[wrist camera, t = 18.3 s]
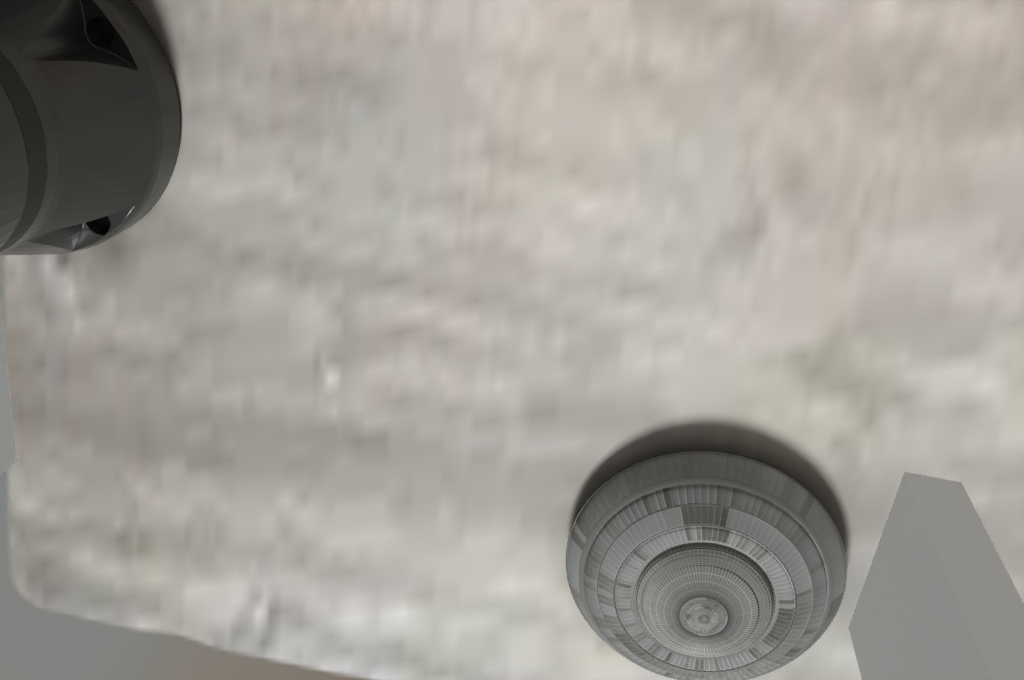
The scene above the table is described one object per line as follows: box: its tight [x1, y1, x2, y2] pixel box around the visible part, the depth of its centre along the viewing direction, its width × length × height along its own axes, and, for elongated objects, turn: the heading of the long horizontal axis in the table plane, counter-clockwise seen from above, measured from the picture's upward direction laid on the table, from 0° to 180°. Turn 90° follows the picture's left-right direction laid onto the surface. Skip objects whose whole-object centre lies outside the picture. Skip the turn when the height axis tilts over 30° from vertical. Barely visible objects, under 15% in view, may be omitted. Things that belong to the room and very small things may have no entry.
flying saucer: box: [566, 451, 847, 680], centre depth 52 cm, size 15×15×6 cm
